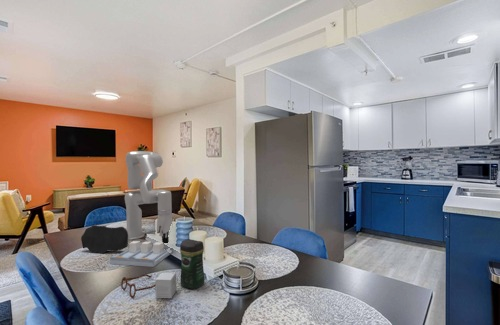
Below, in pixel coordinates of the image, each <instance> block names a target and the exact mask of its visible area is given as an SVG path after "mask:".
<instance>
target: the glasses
mask: <svg viewBox="0 0 500 325" xmlns="http://www.w3.org/2000/svg"><path fill="white" fill-rule="evenodd" d="M143 277H148V278H152V275H149V274H146V273H145V274H142V275H139V276H135V277H129V278H128V277H126V276H124V277H122V279H121V282H120V284H121V285H120V287H121V290H122V289H123V290H122V291H125V290H126V289H127V287H128V286H129V287H128V288H129V292H128V293H129V294H128V295H129V297H130V298H131V299H134V298H135V296H136V293H137V292H139V291H140V292H141V291H145V290H151V289H152V288H156V283H155V284H153V285H152V286H147V287H141V288H136V284H135V283H132V284H131V283H129V282H128V281H131V280H138V279H140V278H143ZM124 282H125V286H124V285H123V284H124ZM132 287H133V290H134V292H133V294H132Z"/></svg>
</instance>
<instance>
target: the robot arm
mask: <svg viewBox="0 0 500 325" xmlns="http://www.w3.org/2000/svg"><path fill="white" fill-rule="evenodd" d="M163 163H164V160H163V157H162V155H160V154H159V153H156V152H153V151H145V150H143V151H142V150H133V151H128V152H127V153H126V155H125V164H126V167H127V188H128V189H129V190H133V191H129V192H127V193H125V195H124V203H125V207H126V208H125V209H126V230H127V231H128V241H131V240H133V241H134V240H139V239H141V238H144V237H145V233H143V232H145V231H146V228H145V227H143V221H142V220H143V217H142V216H143V215H142V212H143V211H142V209H141V207H139V205H144V204H145V205H146V204H156V203H157V220H156V234H159V237H160V238H161V242H163V244H164V243H168V242H169V241H170V239H169V238H170V232H169V230H170V226H171V224H172V225H173V217H172V211H173V208H172V204H173V203H172V192H171V190H166V189H153V181H154V180H156V179H157V178H158V177H159V173H158V172H159V171H158V169H157V168H161V167H162V166H163ZM168 235H169V237H168ZM169 243H170V242H169Z"/></svg>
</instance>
